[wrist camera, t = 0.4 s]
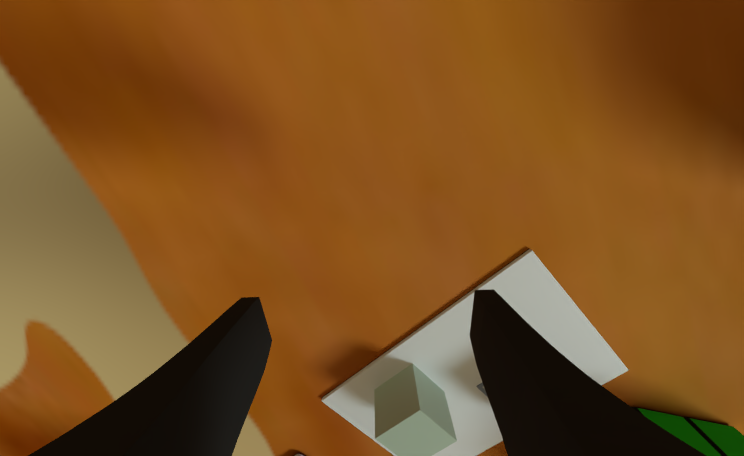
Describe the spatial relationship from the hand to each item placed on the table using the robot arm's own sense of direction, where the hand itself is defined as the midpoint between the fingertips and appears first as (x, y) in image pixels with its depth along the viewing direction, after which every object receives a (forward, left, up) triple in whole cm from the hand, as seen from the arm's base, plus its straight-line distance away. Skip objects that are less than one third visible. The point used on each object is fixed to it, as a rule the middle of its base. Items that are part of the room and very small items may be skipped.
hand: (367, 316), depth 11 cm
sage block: (-8, -13, -10) cm, 18 cm away
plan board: (-4, -16, -10) cm, 19 cm away
